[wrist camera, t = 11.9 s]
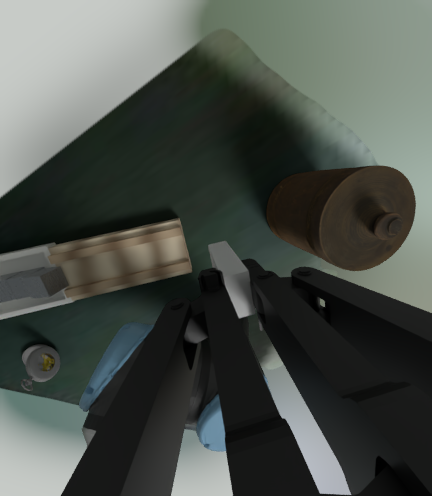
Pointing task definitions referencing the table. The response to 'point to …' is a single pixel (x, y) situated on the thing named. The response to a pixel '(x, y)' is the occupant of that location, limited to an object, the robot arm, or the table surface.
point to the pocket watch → (40, 364)
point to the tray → (23, 262)
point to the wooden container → (344, 214)
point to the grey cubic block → (6, 288)
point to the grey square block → (20, 283)
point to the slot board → (122, 259)
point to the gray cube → (45, 282)
